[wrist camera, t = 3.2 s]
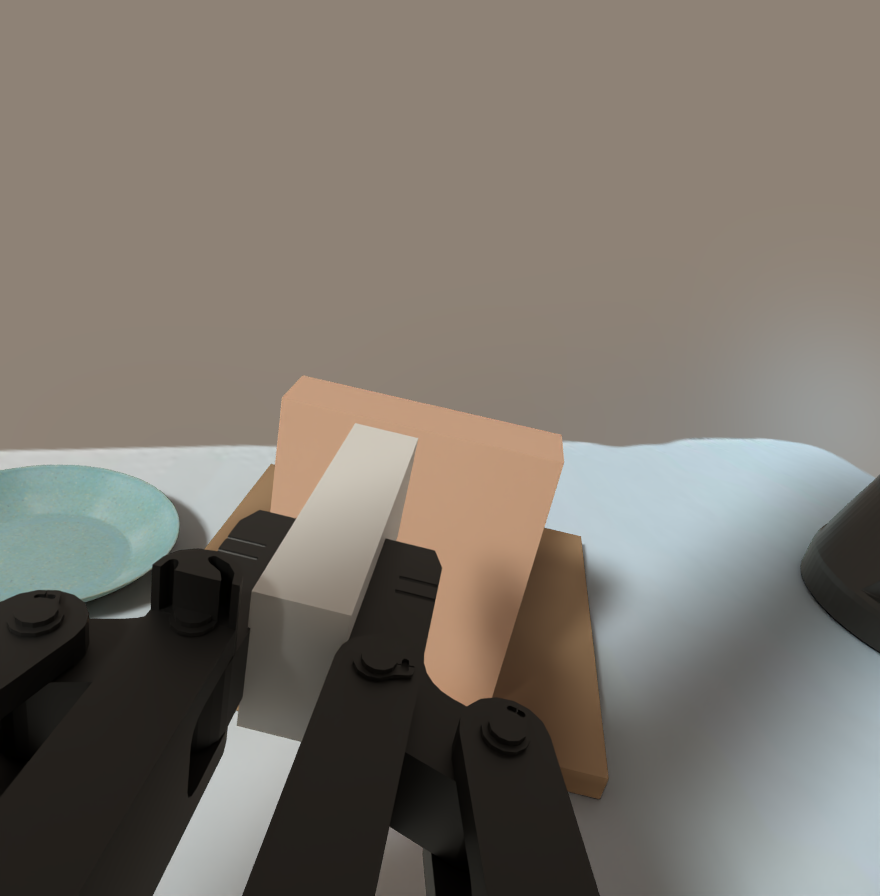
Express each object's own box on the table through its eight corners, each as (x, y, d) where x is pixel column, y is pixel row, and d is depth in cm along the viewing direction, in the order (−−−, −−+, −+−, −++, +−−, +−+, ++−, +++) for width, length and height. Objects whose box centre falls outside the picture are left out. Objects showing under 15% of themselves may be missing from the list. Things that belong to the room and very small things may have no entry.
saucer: (171, 495, 42) (172, 461, 41) (186, 630, 32) (188, 590, 31) (-69, 502, 37) (-74, 464, 36) (-135, 663, 27) (-145, 618, 26)
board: (575, 552, 44) (580, 536, 44) (599, 799, 28) (608, 778, 27) (269, 480, 45) (271, 464, 44) (117, 681, 28) (117, 659, 28)
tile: (490, 671, 31) (561, 433, 26) (487, 713, 29) (564, 462, 24) (275, 619, 32) (303, 374, 27) (254, 657, 29) (282, 397, 24)
